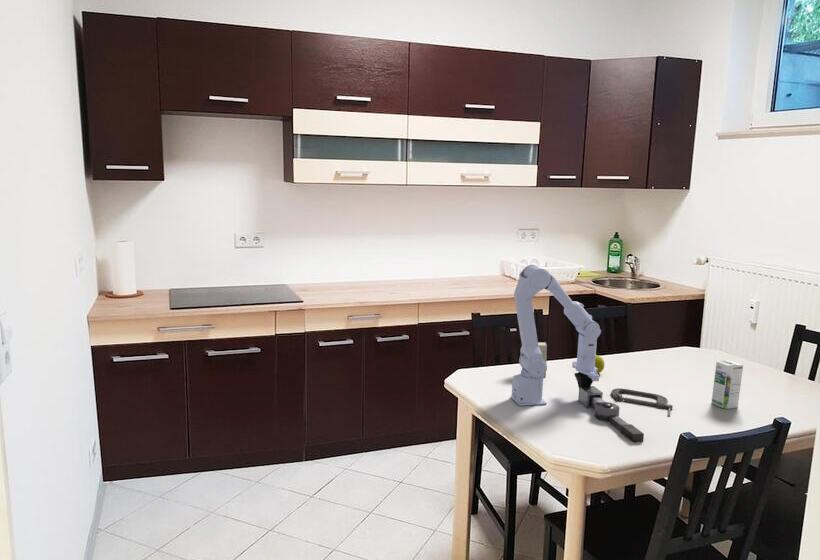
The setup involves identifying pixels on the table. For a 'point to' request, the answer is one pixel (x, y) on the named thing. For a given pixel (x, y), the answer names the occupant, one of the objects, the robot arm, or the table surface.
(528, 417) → the table surface
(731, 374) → the syrup box
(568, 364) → the table surface
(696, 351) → the table surface
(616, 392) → the c clamp
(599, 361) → the tennis ball
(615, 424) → the ratchet
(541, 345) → the skincare box
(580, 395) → the brushed steel cube
